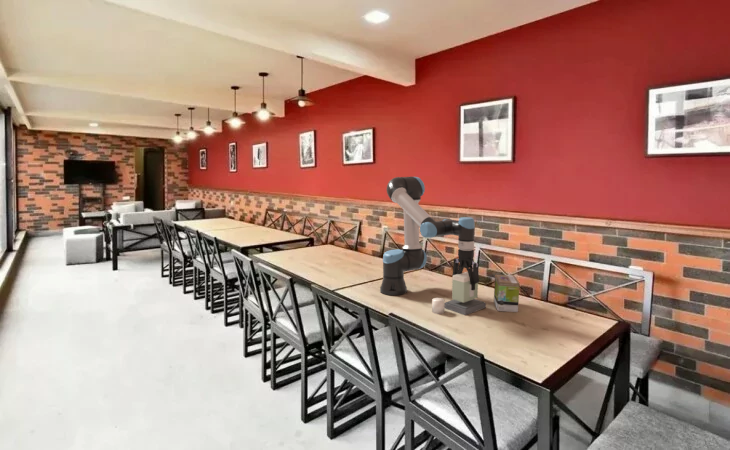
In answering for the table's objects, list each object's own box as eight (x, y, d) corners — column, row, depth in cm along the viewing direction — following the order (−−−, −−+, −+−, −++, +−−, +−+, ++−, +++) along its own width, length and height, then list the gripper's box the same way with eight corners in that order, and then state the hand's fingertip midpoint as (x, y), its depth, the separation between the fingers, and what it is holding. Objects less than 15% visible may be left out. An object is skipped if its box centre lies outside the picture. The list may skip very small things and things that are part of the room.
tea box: (518, 312, 191) (520, 282, 189) (496, 311, 193) (498, 281, 191) (513, 302, 205) (514, 274, 203) (493, 301, 207) (494, 273, 205)
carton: (452, 298, 197) (452, 275, 195) (466, 294, 203) (466, 271, 202) (463, 302, 191) (464, 278, 189) (477, 297, 198) (478, 274, 196)
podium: (444, 307, 198) (444, 302, 198) (464, 301, 208) (464, 295, 207) (465, 315, 188) (465, 309, 188) (485, 307, 198) (485, 301, 197)
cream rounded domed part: (429, 311, 194) (429, 299, 193) (437, 308, 197) (437, 297, 197) (438, 314, 189) (439, 302, 188) (447, 311, 193) (447, 300, 192)
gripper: (445, 247, 199) (444, 291, 202) (478, 253, 184) (477, 301, 187) (454, 245, 204) (454, 288, 207) (488, 251, 188) (486, 297, 191)
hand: (464, 294), depth 197 cm, fingers closed on carton, 7 cm apart
